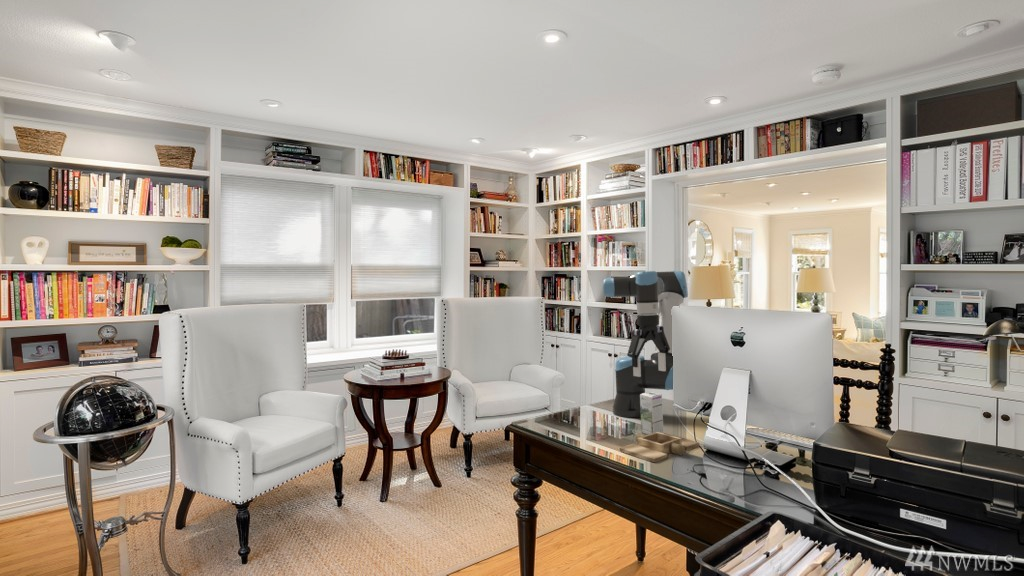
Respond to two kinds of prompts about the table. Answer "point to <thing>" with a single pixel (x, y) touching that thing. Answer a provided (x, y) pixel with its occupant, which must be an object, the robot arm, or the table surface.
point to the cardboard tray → (658, 446)
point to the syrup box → (651, 413)
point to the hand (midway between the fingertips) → (649, 373)
